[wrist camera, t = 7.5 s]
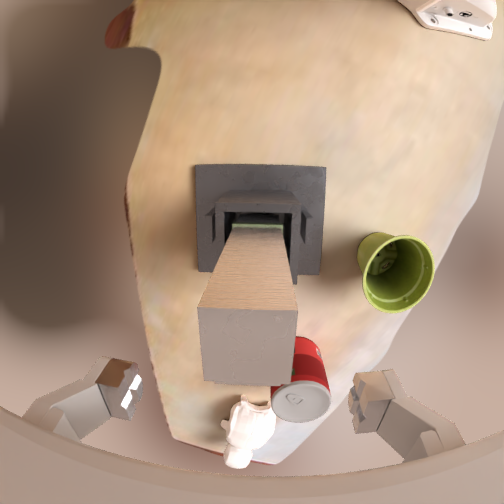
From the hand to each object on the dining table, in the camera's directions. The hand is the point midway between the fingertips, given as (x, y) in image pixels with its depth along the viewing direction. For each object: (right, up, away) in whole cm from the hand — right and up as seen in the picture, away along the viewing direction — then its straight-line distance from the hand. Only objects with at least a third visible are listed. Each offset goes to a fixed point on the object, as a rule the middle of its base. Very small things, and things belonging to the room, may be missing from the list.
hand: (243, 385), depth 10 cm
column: (+1, +7, +21) cm, 22 cm away
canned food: (+7, -11, +35) cm, 37 cm away
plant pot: (+17, +5, +29) cm, 34 cm away
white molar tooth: (-1, -26, +40) cm, 48 cm away
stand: (+1, +9, +28) cm, 30 cm away
